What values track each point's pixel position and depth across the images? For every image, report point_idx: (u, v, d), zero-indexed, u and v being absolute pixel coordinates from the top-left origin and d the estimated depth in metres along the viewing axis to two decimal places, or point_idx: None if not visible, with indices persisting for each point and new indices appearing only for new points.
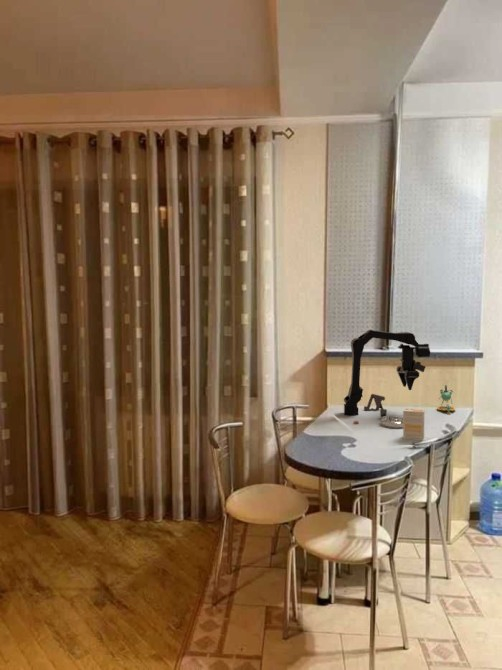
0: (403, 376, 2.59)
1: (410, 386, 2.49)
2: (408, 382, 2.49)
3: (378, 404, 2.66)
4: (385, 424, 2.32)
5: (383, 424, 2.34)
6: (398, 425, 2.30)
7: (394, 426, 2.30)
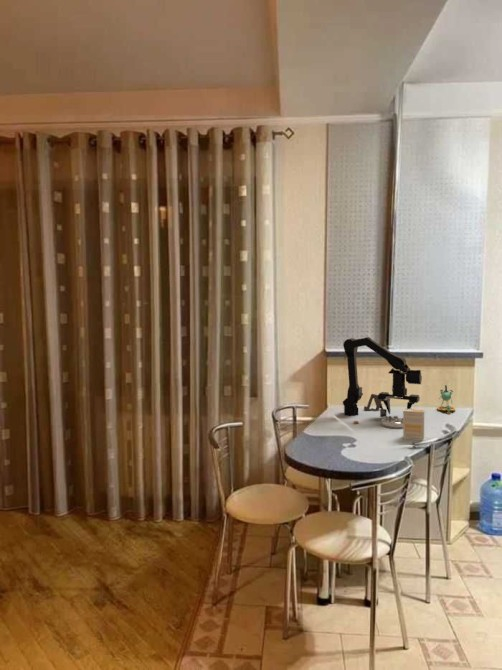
0: (388, 403, 2.47)
1: None
2: (409, 408, 2.42)
3: (378, 404, 2.66)
4: (385, 424, 2.32)
5: (383, 424, 2.33)
6: (398, 425, 2.30)
7: (394, 426, 2.30)
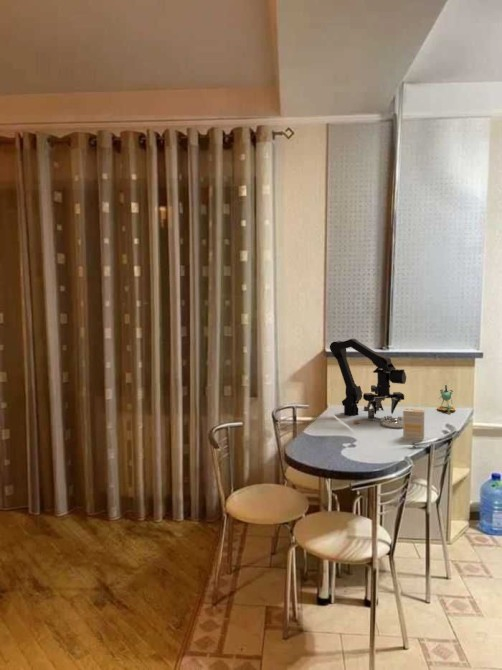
0: None
1: None
2: None
3: (378, 404, 2.66)
4: (392, 425, 2.30)
5: (389, 425, 2.31)
6: None
7: (401, 426, 2.30)
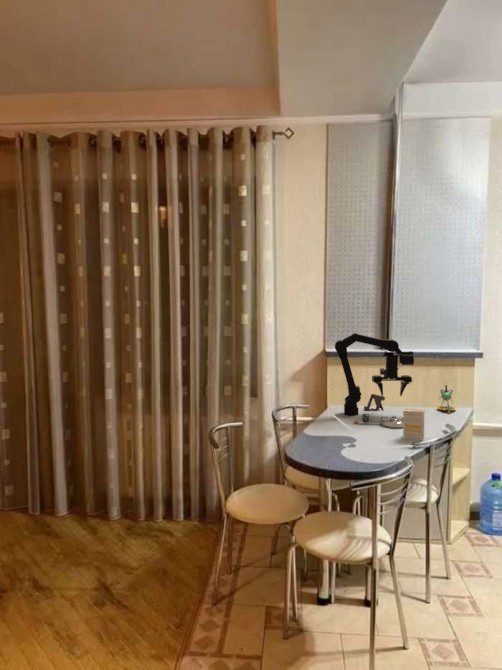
0: None
1: None
2: None
3: (378, 404, 2.66)
4: (400, 425, 2.30)
5: (397, 426, 2.30)
6: None
7: None
